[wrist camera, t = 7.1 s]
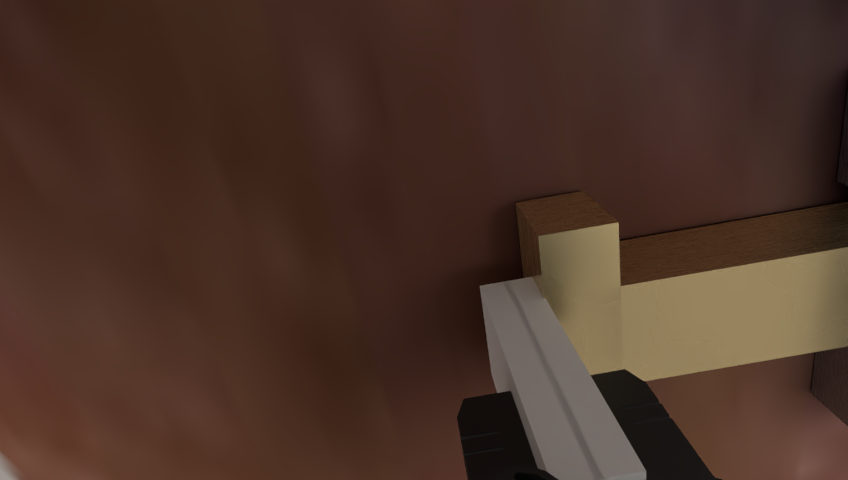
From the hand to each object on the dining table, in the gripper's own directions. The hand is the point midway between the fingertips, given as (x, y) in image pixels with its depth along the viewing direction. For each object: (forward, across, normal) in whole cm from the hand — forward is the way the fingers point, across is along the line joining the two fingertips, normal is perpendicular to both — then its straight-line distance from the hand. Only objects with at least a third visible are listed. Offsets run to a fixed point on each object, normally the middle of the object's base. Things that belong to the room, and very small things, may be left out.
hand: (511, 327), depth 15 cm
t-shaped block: (+1, +6, 0) cm, 6 cm away
